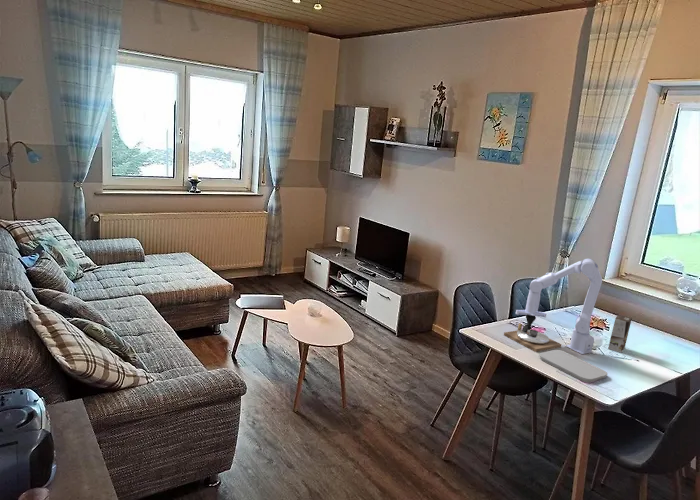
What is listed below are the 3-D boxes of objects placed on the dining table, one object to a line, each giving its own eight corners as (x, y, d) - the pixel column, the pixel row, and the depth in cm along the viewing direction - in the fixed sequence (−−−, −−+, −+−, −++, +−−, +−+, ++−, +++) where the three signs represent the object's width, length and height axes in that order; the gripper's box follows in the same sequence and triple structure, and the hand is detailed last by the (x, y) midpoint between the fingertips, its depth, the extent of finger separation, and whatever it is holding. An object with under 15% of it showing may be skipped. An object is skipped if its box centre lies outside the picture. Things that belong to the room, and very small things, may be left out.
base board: (560, 347, 244) (563, 336, 243) (535, 351, 236) (537, 341, 234) (528, 331, 261) (530, 321, 260) (503, 335, 252) (505, 324, 251)
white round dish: (543, 333, 255) (545, 325, 254) (552, 345, 240) (554, 337, 239) (513, 330, 256) (515, 321, 255) (520, 341, 241) (522, 333, 240)
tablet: (557, 353, 238) (558, 348, 237) (609, 378, 217) (610, 373, 216) (535, 358, 229) (536, 353, 229) (586, 385, 208) (587, 380, 208)
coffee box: (621, 353, 245) (629, 322, 241) (607, 348, 249) (614, 318, 245) (625, 348, 252) (632, 317, 248) (611, 343, 256) (618, 314, 252)
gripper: (520, 304, 246) (515, 330, 249) (550, 307, 246) (545, 333, 249) (516, 300, 253) (512, 325, 256) (545, 302, 253) (540, 328, 256)
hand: (528, 329), depth 253 cm, fingers closed, pressing on white round dish
